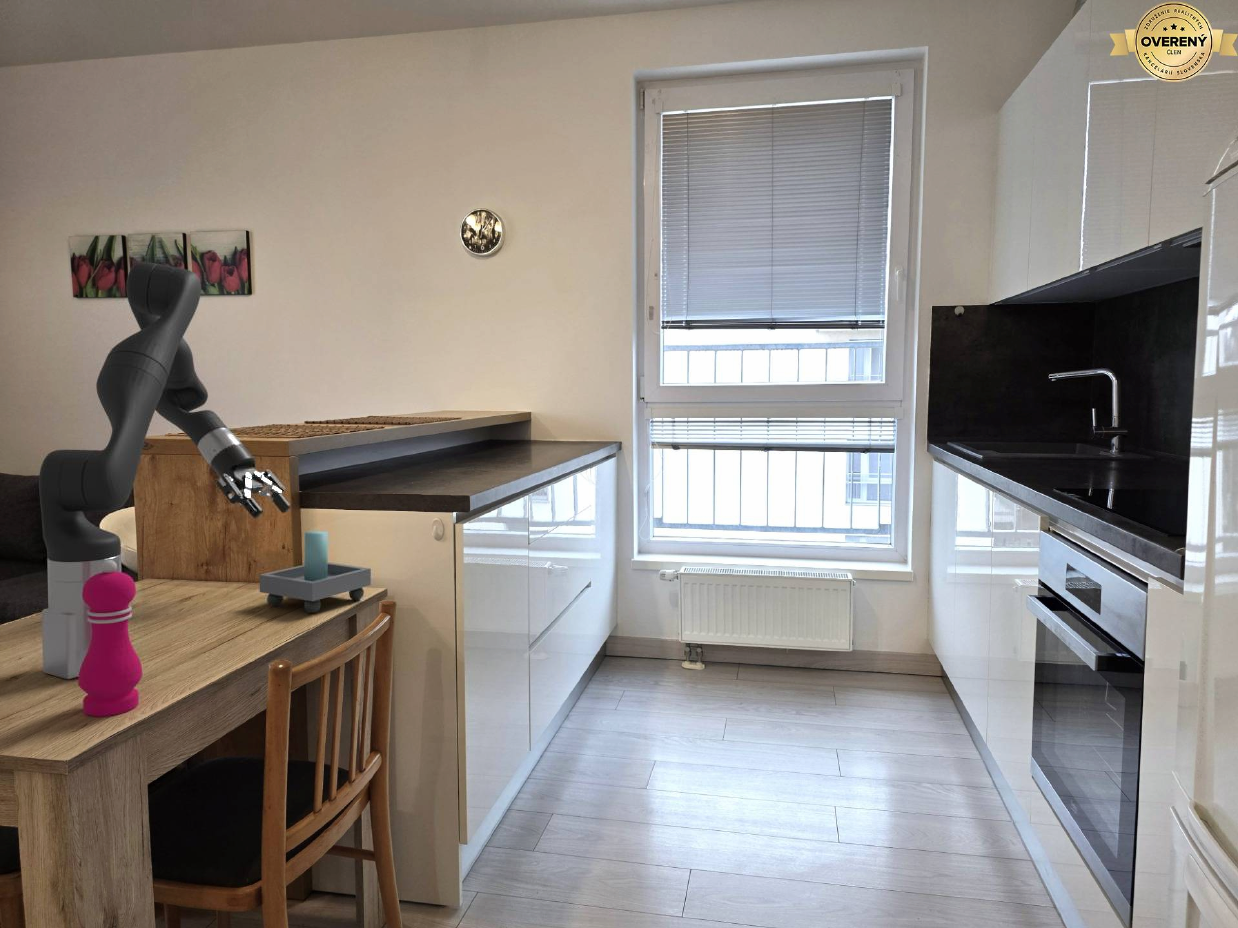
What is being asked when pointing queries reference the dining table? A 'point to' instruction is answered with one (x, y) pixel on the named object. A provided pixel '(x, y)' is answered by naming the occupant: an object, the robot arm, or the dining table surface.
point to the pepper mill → (109, 645)
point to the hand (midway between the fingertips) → (273, 512)
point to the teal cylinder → (316, 555)
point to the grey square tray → (314, 584)
